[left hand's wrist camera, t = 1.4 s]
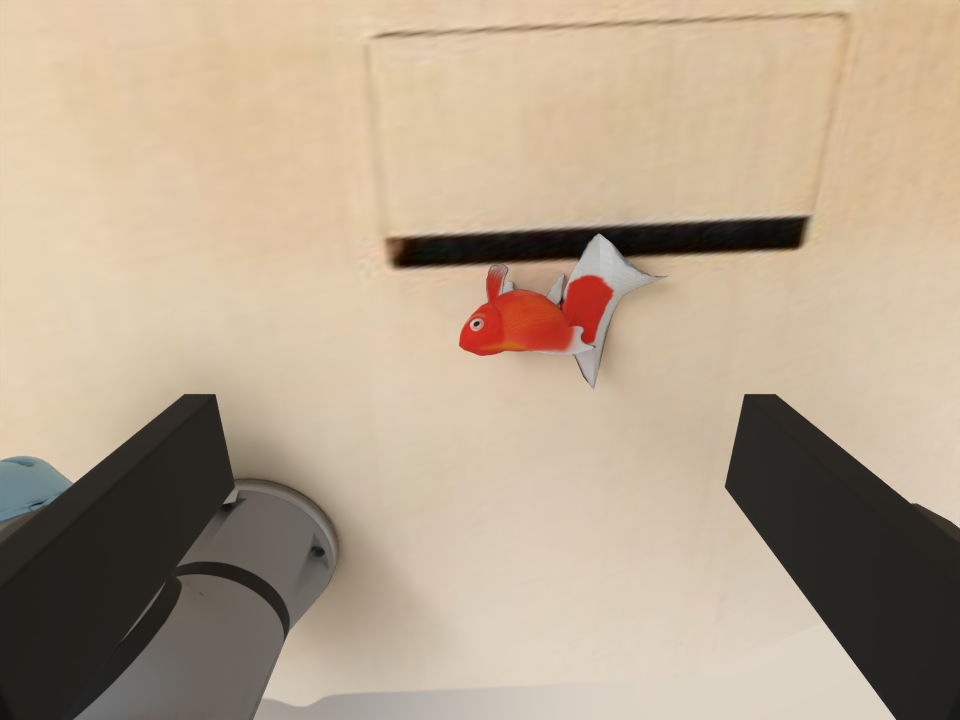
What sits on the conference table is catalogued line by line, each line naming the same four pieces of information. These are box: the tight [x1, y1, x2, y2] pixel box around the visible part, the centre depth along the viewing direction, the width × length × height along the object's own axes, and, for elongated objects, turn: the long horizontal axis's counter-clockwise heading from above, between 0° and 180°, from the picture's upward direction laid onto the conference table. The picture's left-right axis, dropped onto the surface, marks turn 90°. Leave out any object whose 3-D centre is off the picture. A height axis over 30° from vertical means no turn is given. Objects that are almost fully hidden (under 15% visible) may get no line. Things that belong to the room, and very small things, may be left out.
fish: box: [459, 234, 667, 390], centre depth 37 cm, size 11×16×10 cm
